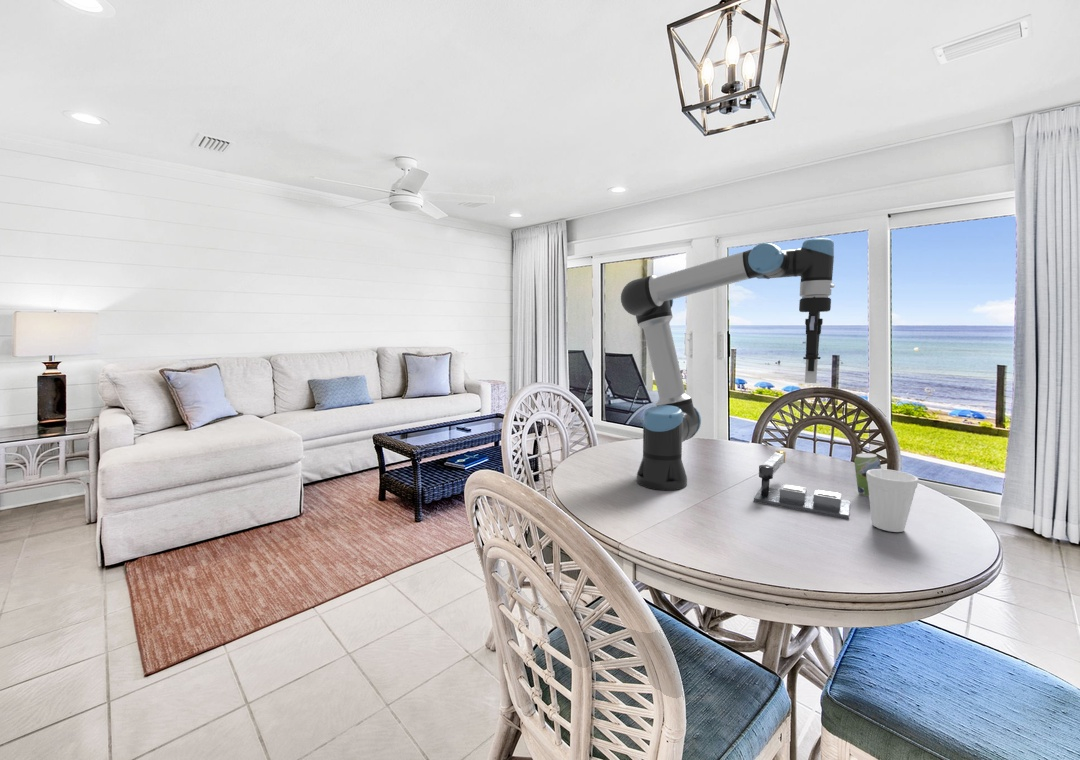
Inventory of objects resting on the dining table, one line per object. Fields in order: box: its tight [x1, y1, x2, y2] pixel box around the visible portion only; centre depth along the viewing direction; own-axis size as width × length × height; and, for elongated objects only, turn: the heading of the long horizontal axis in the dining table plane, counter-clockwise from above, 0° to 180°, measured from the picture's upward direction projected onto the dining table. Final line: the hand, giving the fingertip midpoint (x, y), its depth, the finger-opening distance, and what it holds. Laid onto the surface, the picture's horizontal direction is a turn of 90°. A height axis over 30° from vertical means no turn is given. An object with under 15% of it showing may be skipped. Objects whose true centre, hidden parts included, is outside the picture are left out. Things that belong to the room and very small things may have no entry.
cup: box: [866, 468, 920, 533], centre depth 113 cm, size 10×10×13 cm
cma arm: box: [758, 450, 787, 480], centre depth 141 cm, size 23×4×3 cm, turn 142°
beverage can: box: [853, 452, 882, 498], centre depth 135 cm, size 6×7×12 cm
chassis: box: [753, 478, 851, 520], centre depth 129 cm, size 22×12×6 cm, turn 56°
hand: (810, 382), depth 133 cm, fingers closed
